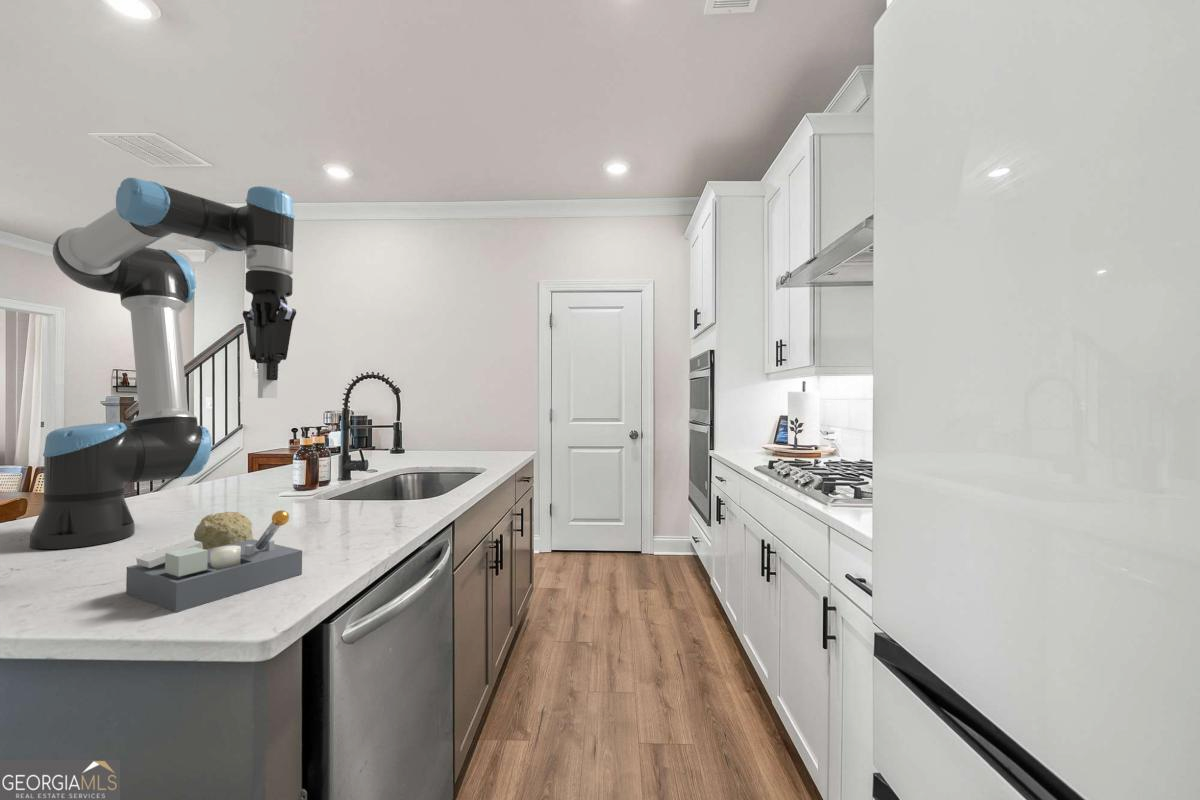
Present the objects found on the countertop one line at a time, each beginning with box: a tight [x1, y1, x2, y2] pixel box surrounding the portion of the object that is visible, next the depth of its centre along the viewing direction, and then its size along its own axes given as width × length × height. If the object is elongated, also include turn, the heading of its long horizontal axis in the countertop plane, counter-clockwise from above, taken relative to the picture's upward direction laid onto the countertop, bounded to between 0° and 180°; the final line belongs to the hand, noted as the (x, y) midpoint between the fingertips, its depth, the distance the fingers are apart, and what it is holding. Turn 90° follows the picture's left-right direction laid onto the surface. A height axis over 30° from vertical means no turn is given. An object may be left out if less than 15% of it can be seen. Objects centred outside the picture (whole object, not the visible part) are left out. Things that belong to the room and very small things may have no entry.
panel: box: [125, 538, 303, 613], centre depth 83 cm, size 14×18×6 cm
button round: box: [210, 546, 241, 570], centre depth 80 cm, size 4×4×3 cm
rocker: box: [135, 538, 203, 568], centre depth 80 cm, size 4×7×1 cm, turn 153°
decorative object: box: [193, 511, 254, 550], centre depth 98 cm, size 9×10×10 cm
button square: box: [165, 547, 208, 577], centre depth 76 cm, size 4×4×3 cm
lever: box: [255, 510, 290, 550], centre depth 85 cm, size 2×2×9 cm
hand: (267, 397), depth 99 cm, fingers closed
